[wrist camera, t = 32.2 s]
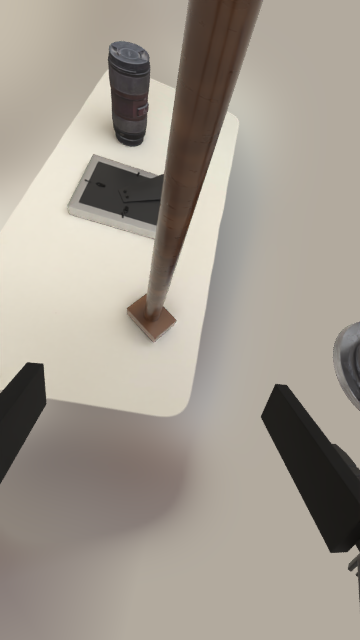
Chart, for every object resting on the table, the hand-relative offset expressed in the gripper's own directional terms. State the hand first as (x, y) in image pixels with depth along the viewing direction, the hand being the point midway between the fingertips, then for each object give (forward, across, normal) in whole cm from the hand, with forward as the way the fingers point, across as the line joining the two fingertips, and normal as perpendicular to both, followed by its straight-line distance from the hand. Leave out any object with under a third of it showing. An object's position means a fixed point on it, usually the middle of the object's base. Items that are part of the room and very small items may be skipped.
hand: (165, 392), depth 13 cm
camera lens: (+62, -11, +25) cm, 68 cm away
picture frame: (+47, -8, +10) cm, 49 cm away
